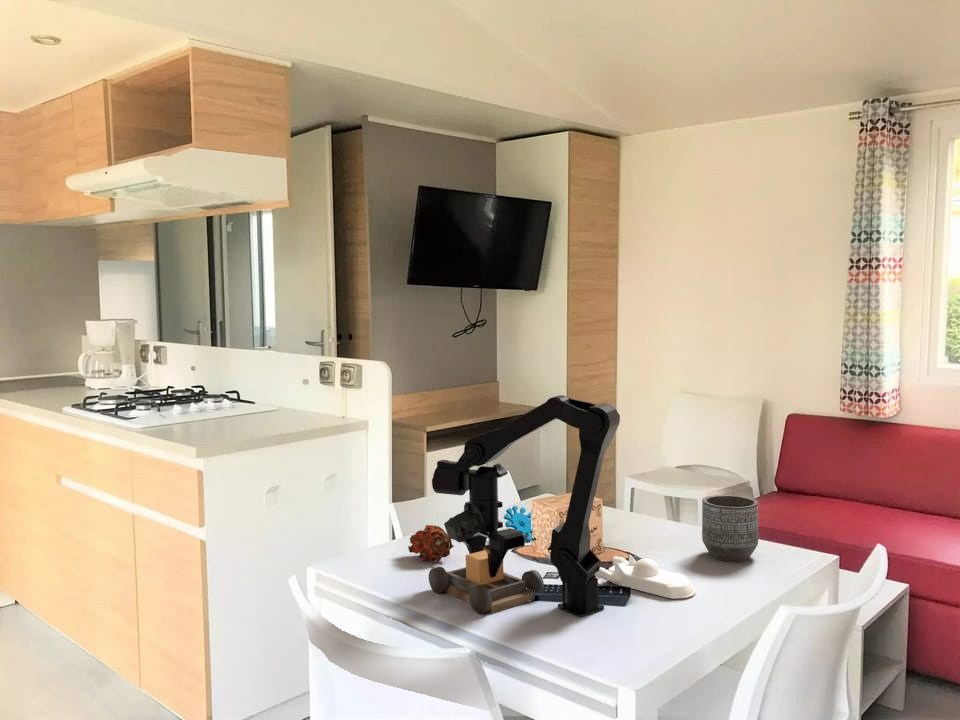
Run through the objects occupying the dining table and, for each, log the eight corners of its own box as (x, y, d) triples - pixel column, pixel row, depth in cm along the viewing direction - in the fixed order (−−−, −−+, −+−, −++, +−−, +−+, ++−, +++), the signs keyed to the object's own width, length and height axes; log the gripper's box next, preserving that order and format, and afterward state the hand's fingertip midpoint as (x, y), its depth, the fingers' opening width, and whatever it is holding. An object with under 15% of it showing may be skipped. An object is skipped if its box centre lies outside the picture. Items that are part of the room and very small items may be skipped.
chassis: (544, 598, 159) (543, 573, 159) (485, 616, 150) (485, 590, 150) (485, 574, 174) (484, 551, 174) (428, 589, 165) (428, 565, 165)
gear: (515, 539, 193) (500, 504, 199) (503, 553, 197) (488, 518, 203) (550, 537, 200) (534, 503, 206) (538, 550, 203) (522, 516, 209)
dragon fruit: (450, 572, 180) (413, 569, 188) (467, 543, 186) (431, 541, 193) (430, 547, 177) (393, 545, 185) (448, 517, 182) (412, 517, 190)
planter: (770, 559, 180) (770, 503, 179) (728, 568, 175) (728, 510, 174) (731, 545, 191) (731, 492, 190) (690, 552, 186) (690, 498, 185)
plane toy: (680, 606, 154) (680, 576, 154) (591, 584, 167) (591, 556, 167) (704, 591, 162) (704, 562, 162) (617, 571, 175) (617, 544, 175)
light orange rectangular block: (503, 578, 162) (503, 554, 161) (479, 585, 158) (479, 560, 158) (489, 573, 165) (489, 549, 165) (466, 579, 162) (465, 555, 161)
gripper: (424, 495, 163) (426, 571, 164) (479, 513, 148) (481, 596, 149) (468, 487, 170) (469, 559, 171) (525, 503, 155) (527, 582, 156)
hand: (485, 573), depth 162 cm, fingers closed on light orange rectangular block, 4 cm apart
